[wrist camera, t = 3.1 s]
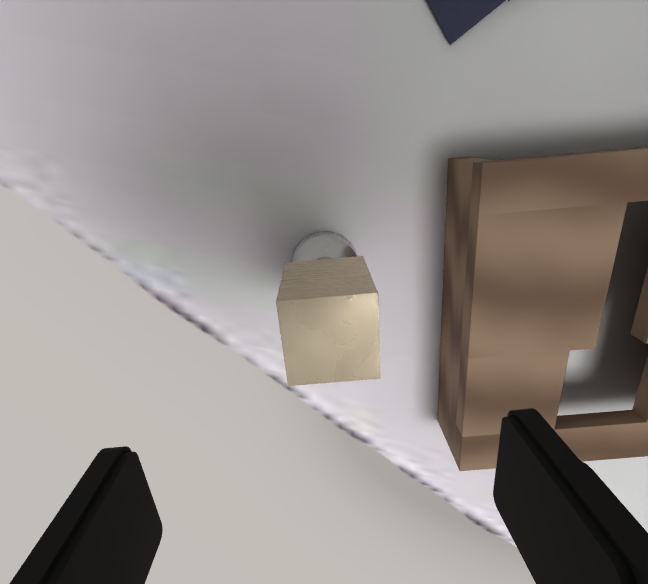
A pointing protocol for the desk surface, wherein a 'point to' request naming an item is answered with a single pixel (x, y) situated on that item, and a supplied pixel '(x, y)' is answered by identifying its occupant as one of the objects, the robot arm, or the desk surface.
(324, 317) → the peg
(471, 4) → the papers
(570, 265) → the keyhole board
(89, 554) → the robot arm
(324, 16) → the desk surface
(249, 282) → the desk surface
